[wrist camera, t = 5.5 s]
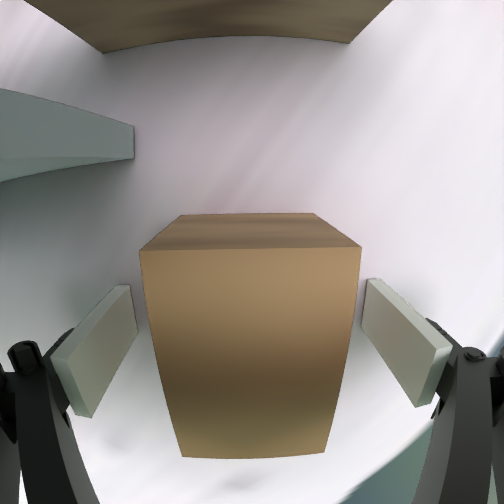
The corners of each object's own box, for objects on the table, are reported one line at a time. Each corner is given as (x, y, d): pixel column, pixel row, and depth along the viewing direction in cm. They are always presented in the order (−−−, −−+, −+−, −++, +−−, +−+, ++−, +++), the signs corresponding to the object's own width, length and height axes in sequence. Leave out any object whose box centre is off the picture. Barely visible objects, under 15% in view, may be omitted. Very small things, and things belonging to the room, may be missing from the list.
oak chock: (302, 371, 16) (324, 452, 10) (196, 374, 16) (182, 456, 10) (312, 212, 14) (361, 246, 8) (181, 214, 13) (138, 250, 8)
